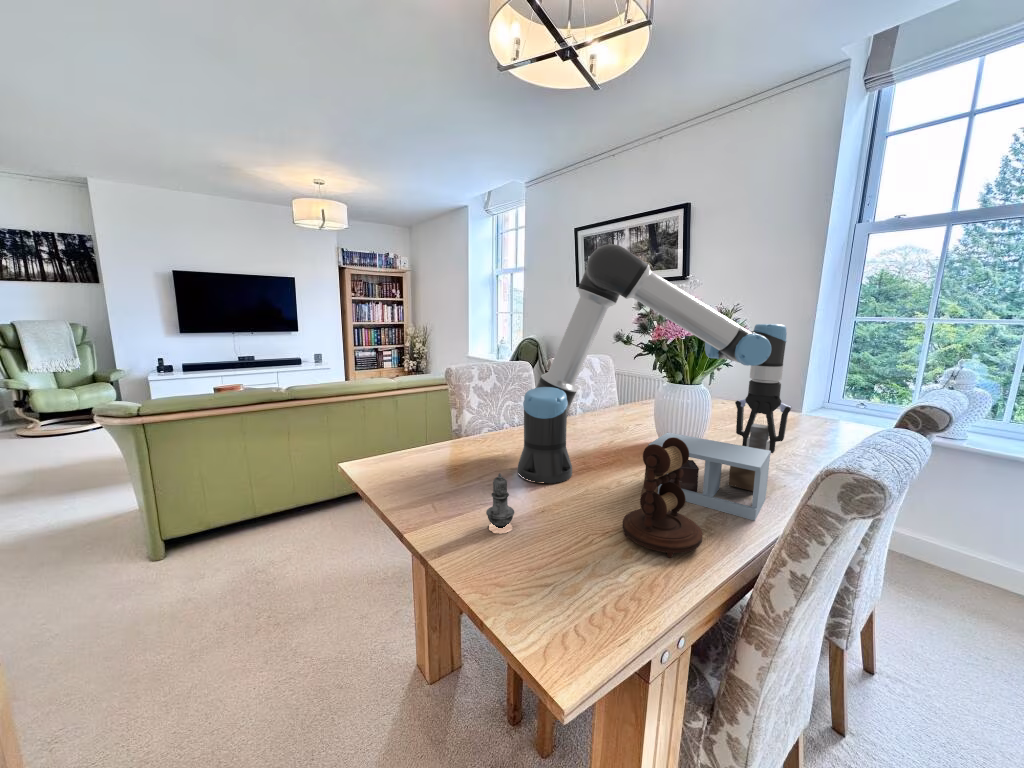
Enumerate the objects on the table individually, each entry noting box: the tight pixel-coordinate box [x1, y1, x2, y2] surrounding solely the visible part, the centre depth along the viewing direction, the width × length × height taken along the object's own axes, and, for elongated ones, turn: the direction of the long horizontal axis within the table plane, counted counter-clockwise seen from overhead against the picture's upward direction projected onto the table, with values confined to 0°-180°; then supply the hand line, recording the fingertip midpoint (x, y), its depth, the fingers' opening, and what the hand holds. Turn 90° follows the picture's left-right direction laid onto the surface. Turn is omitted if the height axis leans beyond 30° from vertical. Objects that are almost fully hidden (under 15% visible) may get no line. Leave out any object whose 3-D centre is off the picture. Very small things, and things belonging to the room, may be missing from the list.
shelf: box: [647, 432, 772, 522], centre depth 99 cm, size 24×14×12 cm, turn 50°
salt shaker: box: [485, 473, 515, 528], centre depth 84 cm, size 6×6×12 cm
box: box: [668, 459, 700, 493], centre depth 101 cm, size 6×6×7 cm
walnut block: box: [728, 423, 770, 492], centre depth 109 cm, size 6×21×12 cm, turn 140°
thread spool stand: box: [622, 437, 703, 559], centre depth 79 cm, size 15×15×20 cm
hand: (756, 461), depth 116 cm, fingers closed on walnut block, 4 cm apart
